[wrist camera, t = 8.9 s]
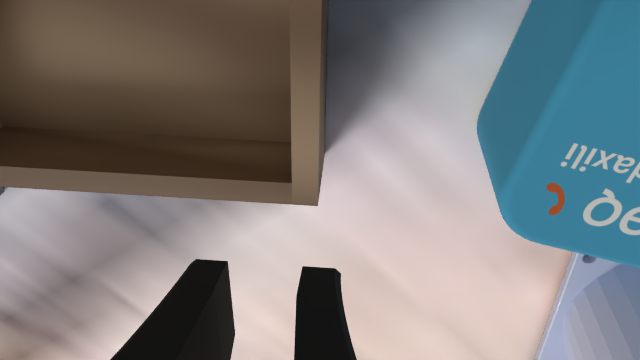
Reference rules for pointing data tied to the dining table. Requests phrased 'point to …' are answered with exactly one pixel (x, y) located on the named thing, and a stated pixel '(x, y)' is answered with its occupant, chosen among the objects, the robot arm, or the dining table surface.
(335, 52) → the dining table surface
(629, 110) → the data package
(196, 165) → the walnut box
